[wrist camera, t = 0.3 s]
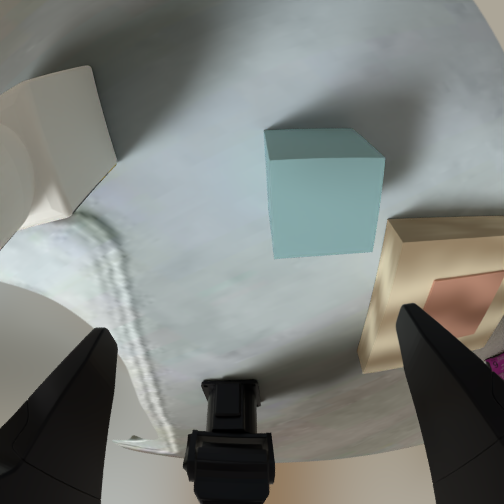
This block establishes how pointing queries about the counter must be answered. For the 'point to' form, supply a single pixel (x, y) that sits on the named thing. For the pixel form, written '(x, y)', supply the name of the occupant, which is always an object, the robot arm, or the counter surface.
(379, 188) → the teal block
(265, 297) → the counter surface
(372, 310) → the stack base
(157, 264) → the counter surface
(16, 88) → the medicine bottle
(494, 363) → the candy bar box
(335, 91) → the counter surface
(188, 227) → the counter surface
